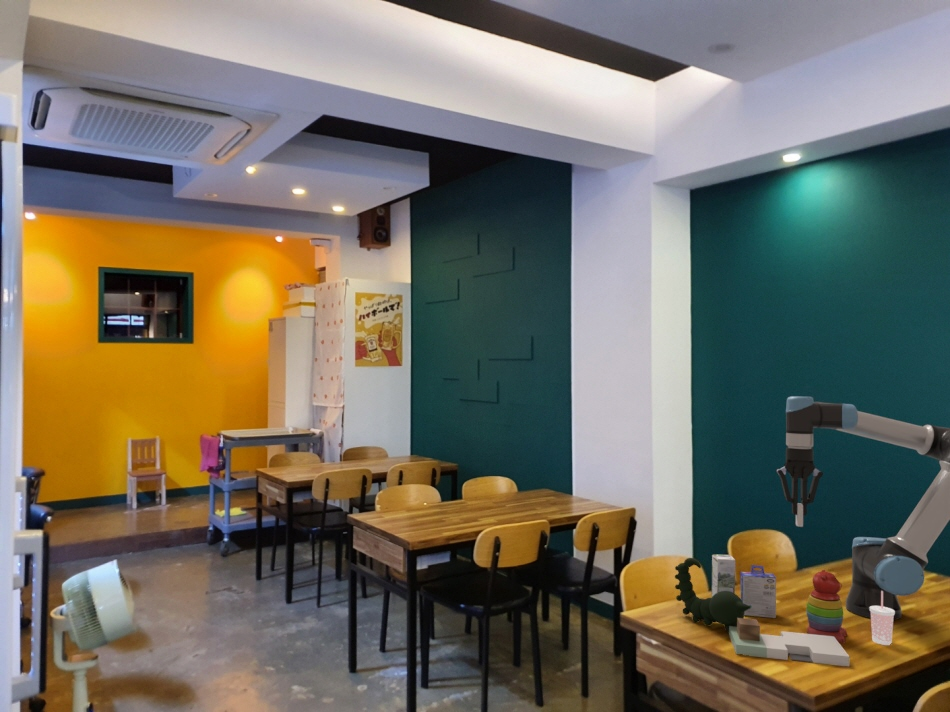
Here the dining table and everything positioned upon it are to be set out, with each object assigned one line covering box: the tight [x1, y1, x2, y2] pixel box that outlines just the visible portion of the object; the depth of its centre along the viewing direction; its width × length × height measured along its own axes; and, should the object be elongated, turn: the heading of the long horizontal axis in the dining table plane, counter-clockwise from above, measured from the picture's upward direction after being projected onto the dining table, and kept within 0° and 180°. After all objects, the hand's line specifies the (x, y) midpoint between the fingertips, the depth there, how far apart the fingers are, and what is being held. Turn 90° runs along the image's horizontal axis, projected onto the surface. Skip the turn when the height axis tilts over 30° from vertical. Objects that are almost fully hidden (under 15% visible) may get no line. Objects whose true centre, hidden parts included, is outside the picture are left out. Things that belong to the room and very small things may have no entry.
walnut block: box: [737, 617, 761, 641], centre depth 186 cm, size 5×5×4 cm
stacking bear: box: [805, 569, 848, 645], centre depth 196 cm, size 11×10×18 cm
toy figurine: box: [674, 557, 750, 634], centre depth 202 cm, size 9×19×25 cm
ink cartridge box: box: [740, 564, 777, 619], centre depth 212 cm, size 10×6×14 cm, turn 78°
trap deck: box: [728, 626, 850, 667], centre depth 184 cm, size 27×14×2 cm, turn 77°
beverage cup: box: [869, 591, 895, 646], centre depth 192 cm, size 6×6×14 cm
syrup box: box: [710, 554, 736, 598], centre depth 224 cm, size 6×6×14 cm
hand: (799, 525), depth 208 cm, fingers closed
